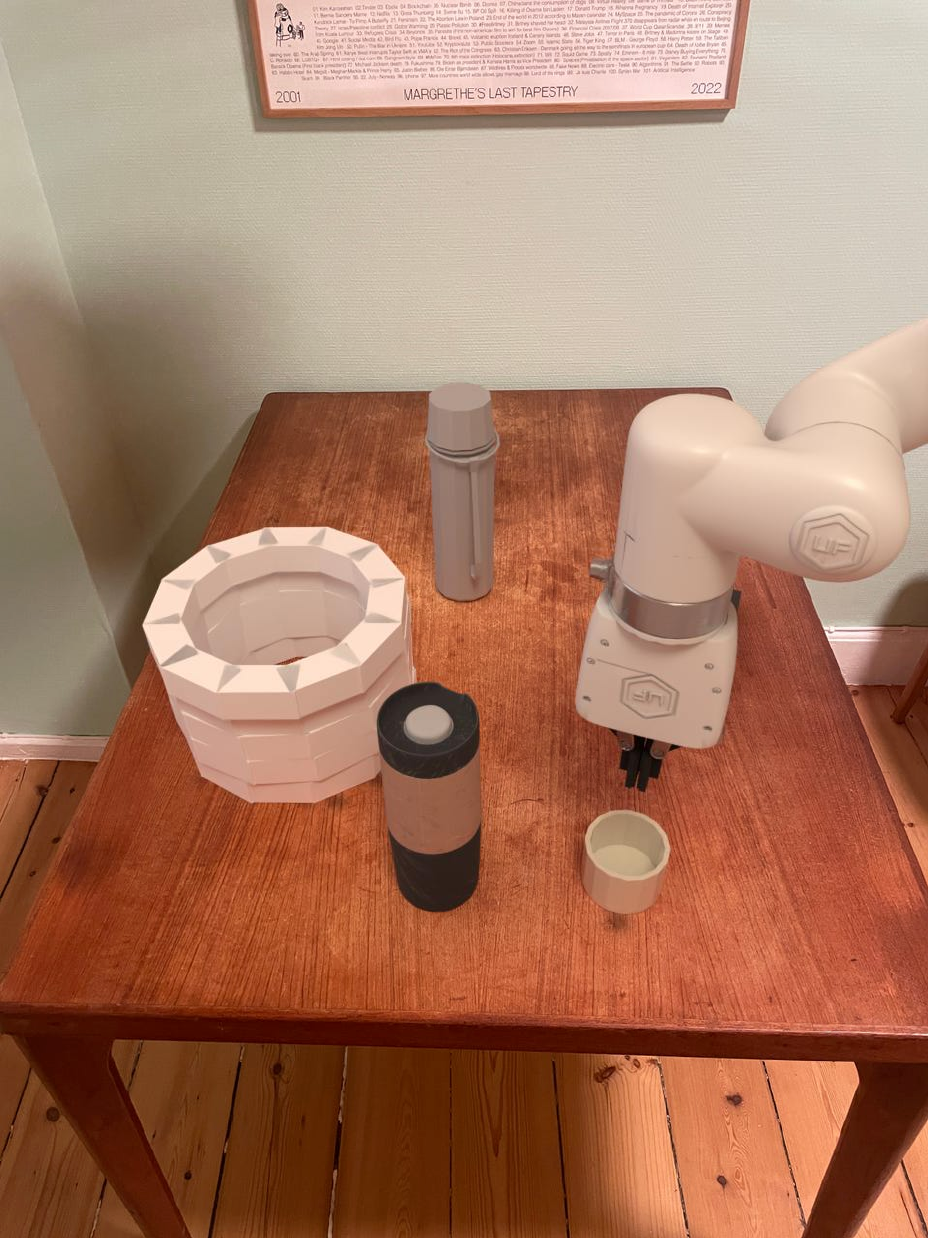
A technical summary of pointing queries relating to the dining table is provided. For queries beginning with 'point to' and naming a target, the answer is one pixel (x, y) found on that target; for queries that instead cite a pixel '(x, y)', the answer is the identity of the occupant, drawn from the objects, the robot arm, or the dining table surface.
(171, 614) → the container
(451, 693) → the travel mug
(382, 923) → the dining table surface
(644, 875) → the bowl
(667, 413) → the robot arm
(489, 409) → the water bottle
